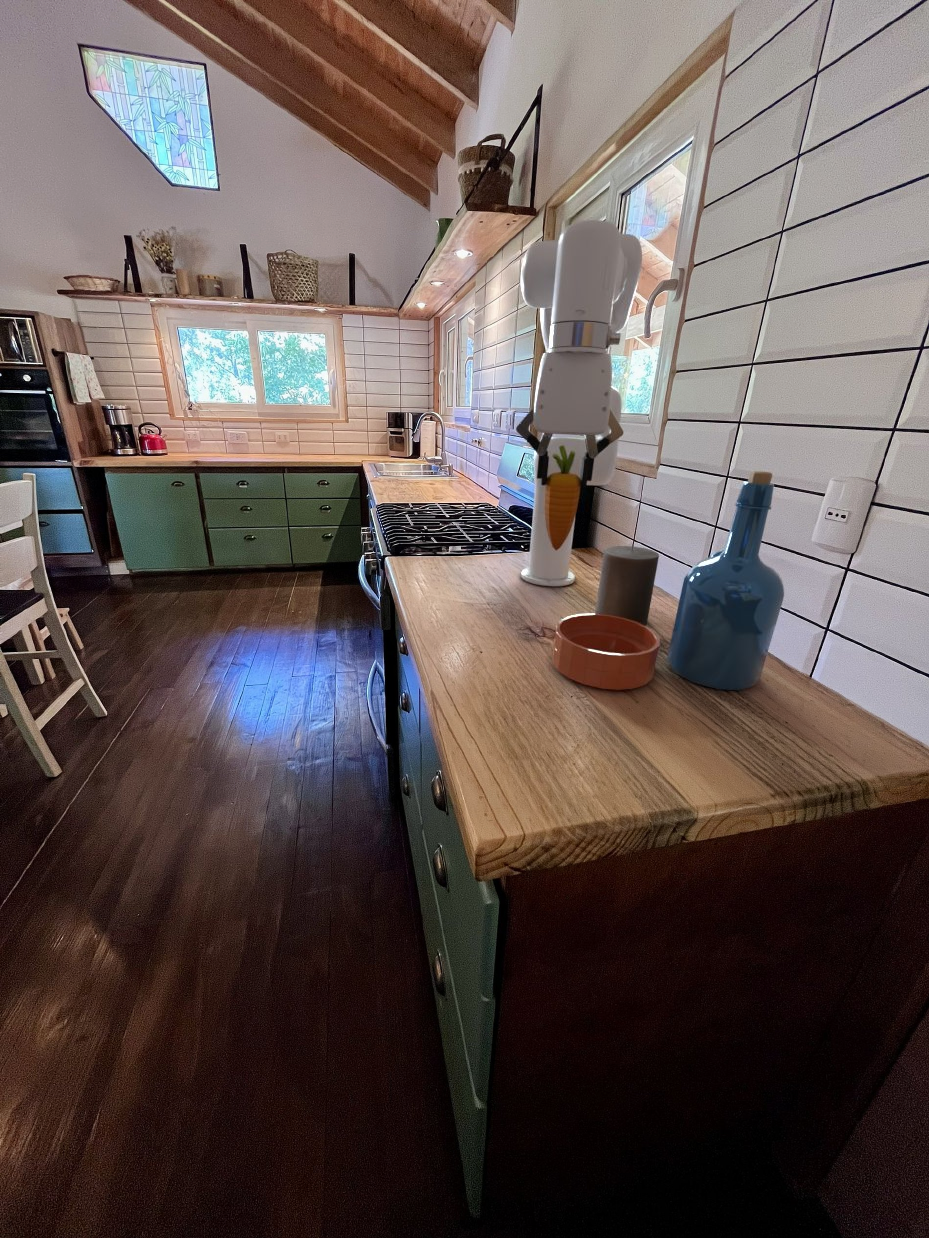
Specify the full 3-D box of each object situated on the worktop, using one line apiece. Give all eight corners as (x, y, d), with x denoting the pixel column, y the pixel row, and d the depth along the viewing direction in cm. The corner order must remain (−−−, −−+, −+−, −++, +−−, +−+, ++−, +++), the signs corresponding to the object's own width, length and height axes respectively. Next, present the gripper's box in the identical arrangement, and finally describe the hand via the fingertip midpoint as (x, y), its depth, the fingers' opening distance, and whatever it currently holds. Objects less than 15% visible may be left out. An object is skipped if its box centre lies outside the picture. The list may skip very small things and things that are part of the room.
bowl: (550, 642, 85) (553, 610, 83) (641, 650, 83) (647, 617, 81) (554, 687, 71) (558, 650, 69) (663, 697, 70) (671, 659, 67)
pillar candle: (651, 633, 90) (667, 553, 84) (596, 629, 91) (608, 549, 85) (640, 613, 99) (654, 540, 93) (591, 610, 100) (601, 536, 94)
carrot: (572, 555, 73) (585, 448, 67) (538, 552, 74) (548, 446, 68) (572, 547, 77) (584, 445, 72) (540, 544, 78) (550, 444, 72)
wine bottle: (769, 701, 70) (837, 481, 58) (668, 684, 73) (714, 473, 61) (748, 659, 82) (801, 470, 70) (663, 646, 85) (700, 464, 74)
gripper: (639, 347, 67) (618, 484, 74) (513, 344, 69) (505, 479, 76) (652, 340, 60) (627, 492, 68) (512, 337, 62) (502, 486, 69)
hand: (563, 483), depth 72 cm, fingers closed on carrot, 5 cm apart
